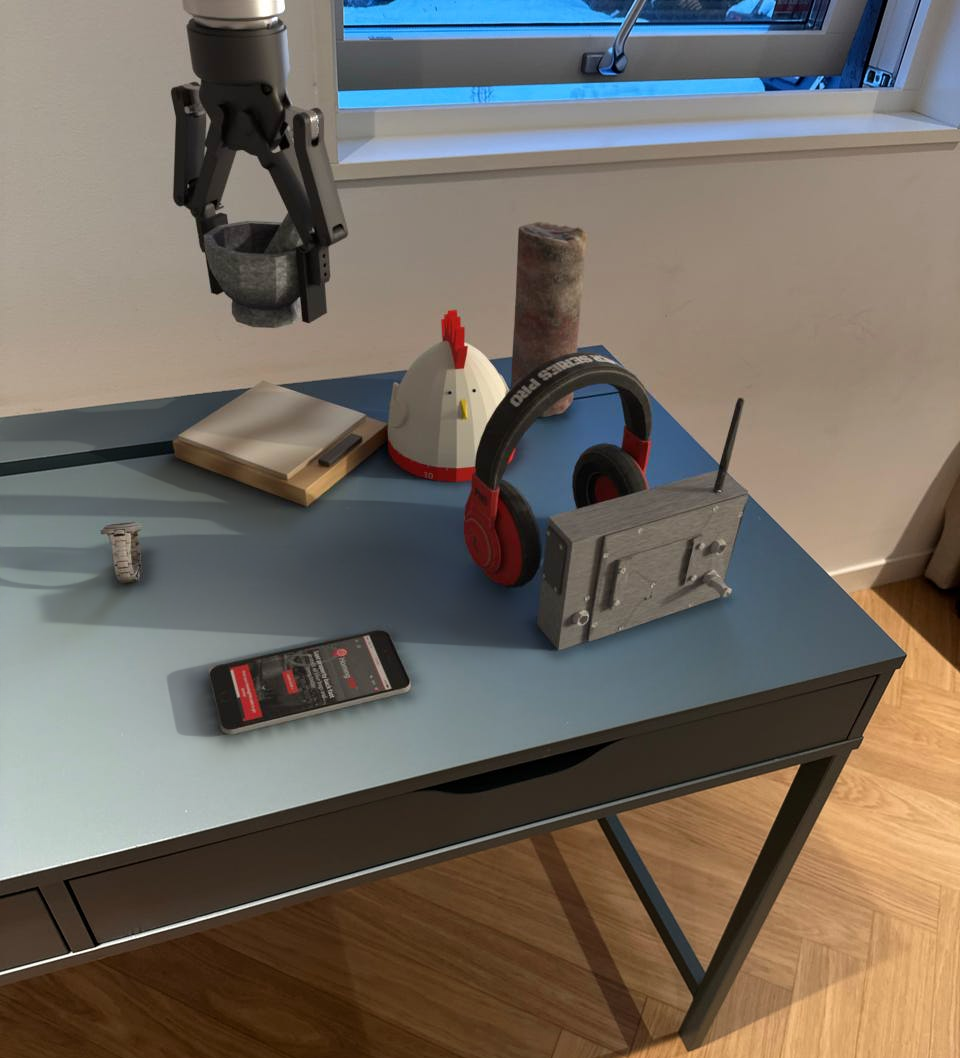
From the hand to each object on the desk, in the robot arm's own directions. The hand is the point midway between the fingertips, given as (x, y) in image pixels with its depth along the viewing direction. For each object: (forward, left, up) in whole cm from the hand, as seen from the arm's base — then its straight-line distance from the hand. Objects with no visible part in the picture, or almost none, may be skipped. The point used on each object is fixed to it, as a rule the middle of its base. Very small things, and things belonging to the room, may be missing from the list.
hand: (268, 302), depth 86 cm
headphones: (+31, 0, -18) cm, 35 cm away
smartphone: (+21, -25, -17) cm, 37 cm away
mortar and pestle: (+1, 0, -1) cm, 1 cm away
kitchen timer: (+13, +12, -18) cm, 25 cm away
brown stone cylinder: (+17, +26, -18) cm, 36 cm away
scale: (-2, +2, -17) cm, 18 cm away
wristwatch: (-1, -22, -18) cm, 28 cm away
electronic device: (+41, -4, -18) cm, 45 cm away
